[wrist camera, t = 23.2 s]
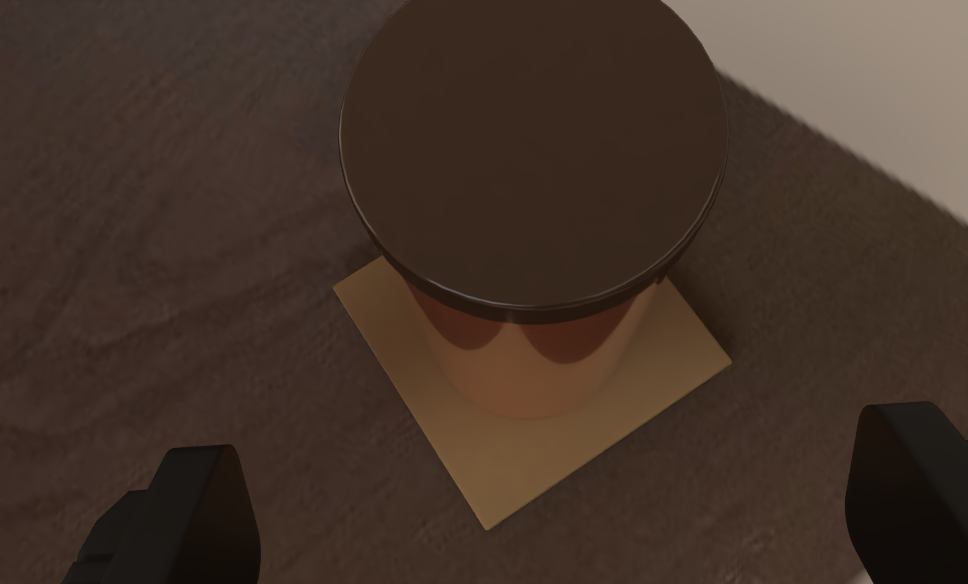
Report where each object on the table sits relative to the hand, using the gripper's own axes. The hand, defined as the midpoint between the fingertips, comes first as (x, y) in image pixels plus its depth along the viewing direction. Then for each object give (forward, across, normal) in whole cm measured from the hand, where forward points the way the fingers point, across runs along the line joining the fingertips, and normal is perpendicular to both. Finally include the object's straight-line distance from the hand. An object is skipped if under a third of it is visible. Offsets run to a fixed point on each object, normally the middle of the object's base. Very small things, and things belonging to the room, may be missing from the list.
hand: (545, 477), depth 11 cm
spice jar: (+9, 0, +3) cm, 9 cm away
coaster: (+9, 0, +3) cm, 10 cm away
